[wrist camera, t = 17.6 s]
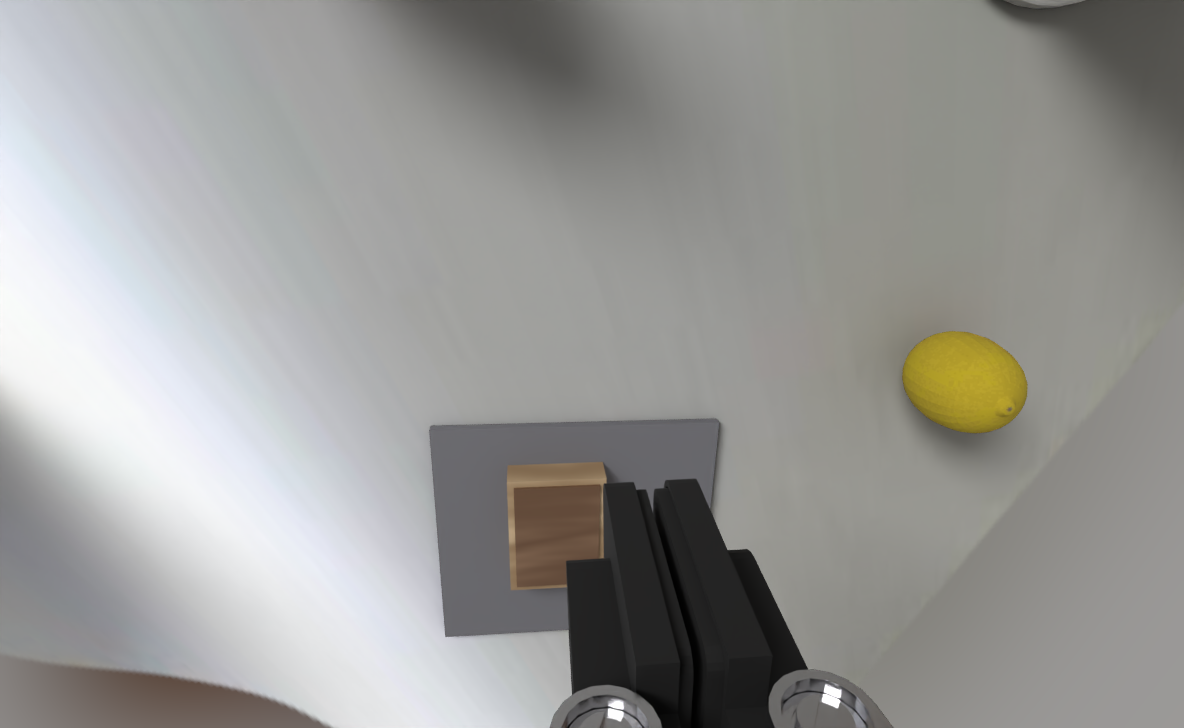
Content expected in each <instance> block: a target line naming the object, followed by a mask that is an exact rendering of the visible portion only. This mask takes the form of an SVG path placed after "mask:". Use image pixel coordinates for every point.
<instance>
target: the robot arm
mask: <svg viewBox="0 0 1184 728" xmlns="http://www.w3.org/2000/svg"><path fill="white" fill-rule="evenodd" d="M1005 1H1007V2H1009V3H1011V4H1014V5H1016V6H1022V7H1028V8H1034V9H1042V8H1056V7H1061V6H1065V5H1069V4H1074V3H1079V2H1082V1H1085V0H1005ZM603 537H604V558H600V559H584V560H568V561H566V578H567V604H568V626H569V646H570V664H571V682H572V696H570V697H569V698H568V699H566V700H565V701H564V702H563V703H562V704H561V706H560V707H559V708H558V710H557V711H556V713H555V714H554V716H553V719H552V722H551V725H550V728H893V726H892V725H891V724H890V722H889V721H888V720H887V718H886V717H885V716H884V714H883V713H882V711H881V710H880V709H879V708H878V706H877V705H876V704H875V703H874V702H873V700H872V699H871V698H870V697H869V696H868V695H867V694H866V693H865V692H864V691H863V690H862V689H860V688H859V687H857V686H856V685H855V684H853V683H852V682H850V681H849V680H847V679H845V678H842V677H840V676H838V675H835V674H833V673H830V672H825V671H820V670H814V669H809V670H808V668H807V666H806V664H805V662H804V660H803V658H802V656H801V654H800V652H799V649H798V647H797V645H796V643H795V641H794V639H793V637H792V635H791V633H790V631H789V629H788V627H787V625H786V622H785V620H784V618H783V616H782V614H781V612H780V610H779V608H778V606H777V604H776V602H775V600H774V598H773V595H772V593H771V591H770V589H769V587H768V585H767V583H766V581H765V579H764V577H763V575H762V573H761V571H760V568H759V566H758V564H757V562H756V560H755V558H754V556H753V555H752V553H751V552H750V551H749V550H747V549H742V550H727V548H726V546H725V543H724V541H723V539H722V536H721V534H720V532H719V529H718V527H717V525H716V522H715V520H714V518H713V515H712V513H711V511H710V508H709V506H708V504H707V501H706V499H705V497H704V494H703V492H702V490H701V487H700V485H699V483H698V481H697V479H695V478H693V479H675V480H666V481H665V483H664V488H658V489H654V496H653V511H652V508H651V504H650V500H649V497H648V493H647V490H646V489H640V490H636V487H635V484H634V482H621V483H604V485H603Z"/></svg>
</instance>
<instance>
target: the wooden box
mask: <svg viewBox="0 0 1184 728" xmlns="http://www.w3.org/2000/svg"><path fill="white" fill-rule="evenodd" d="M606 482H607V478H606V474H605V469H604V465H603V462H587V463H560V464H532V465H508V468H507V500H508V528H509V555H510V583H511V590H527V589H545V588H562V587H567V578H566V561H568V560H584V559H600V558H604V537H603V485H604V483H606Z"/></svg>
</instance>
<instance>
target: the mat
mask: <svg viewBox="0 0 1184 728" xmlns="http://www.w3.org/2000/svg"><path fill="white" fill-rule="evenodd" d="M718 430H719V422H718V420H717V419H682V420H642V421H602V422H563V423H523V424H483V425H444V426H430V430H429V433H430V446H431V458H432V471H433V484H434V497H435V509H436V522H437V535H438V548H439V561H440V573H441V586H442V599H443V612H444V624H445V637H452V636H469V635H485V634H502V633H519V632H536V631H552V630H569V626H568V604H567V587H562V588H545V589H527V590H511V583H510V555H509V528H508V500H507V468H508V465H532V464H560V463H587V462H603V465H604V469H605V474H606V478H607V482H606V483H621V482H634V484H635V487H636V490H640V489H646V490H647V493H648V497H649V500H650V504H651V508H652V511H653V496H654V489H658V488H664V483H665V481H666V480H675V479H693V478H695V479H697V481H698V483H699V485H700V487H701V490H702V492H703V494H704V497H705V499H706V501H707V504H708V506H709V508H710V507H711V497H712V488H713V478H714V469H715V459H716V450H717V440H718Z"/></svg>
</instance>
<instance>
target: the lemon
mask: <svg viewBox="0 0 1184 728" xmlns="http://www.w3.org/2000/svg"><path fill="white" fill-rule="evenodd" d="M902 379H903V384H904V389H905V391H906V393H907V395H908V397H909V399H910V400H911V402H912V403H913V405H914V406H915V407H916V408H917V409H918V410H919V411H921V412H922V413H923V414H924V415H925V416H926V417H928V418H929V419H930V420H932V421H934V422H936V423H938V424H940V425H943V426H945V427H947V428H950V429H953V430H956V431H960V432H967V433H984V432H990V431H993V430H996V429H999V428H1001V427H1003V426H1005V425H1006V424H1008V423H1009V422H1011V421H1012V420H1013V419H1014V418H1015V417H1016V416H1017V415H1018V414H1019V412H1020V411H1021V409H1022V408H1023V406H1024V404H1025V401H1026V397H1027V381H1026V377H1025V374H1024V371H1023V370H1022V368H1021V367H1020V365H1019V364H1018V362H1017V361H1016V360H1015V358H1014V357H1013V356H1012V355H1011V354H1010V353H1008V352H1007V351H1006V350H1005V349H1003V348H1002V347H1000V346H999V345H998V344H996V343H995V342H993V341H991V340H990V339H987V338H985V337H982V336H979V335H975V334H972V333H968V332H956V331H949V332H943V333H938V334H935V335H932V336H930V337H928V338H926V339H924V340H923V341H921V342H920V343H919V344H917V345H916V346H915V347H914V348H913V349H912V350H911V352H910V353H909V355H908V357H907V358H906V361H905V364H904V367H903V375H902Z"/></svg>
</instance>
